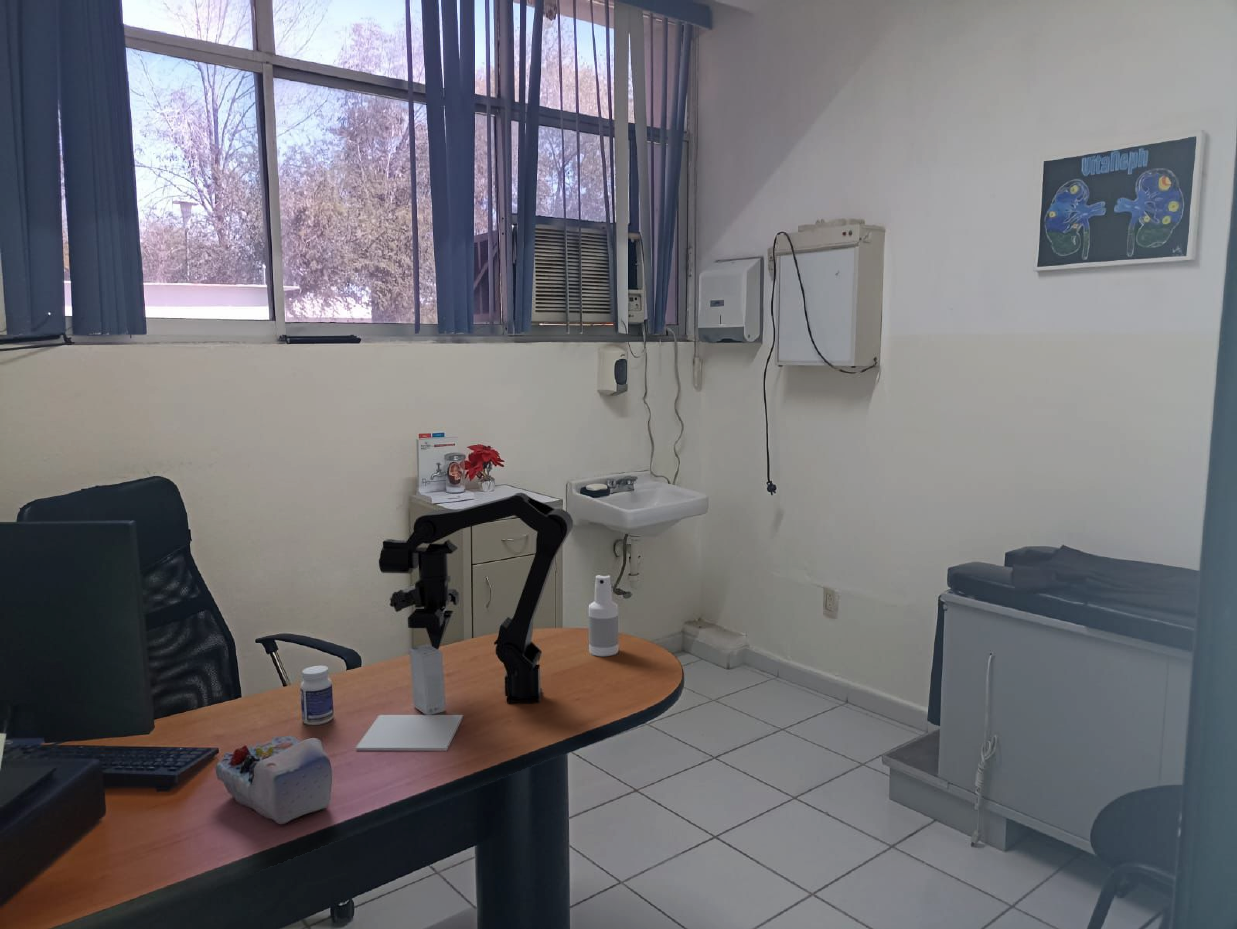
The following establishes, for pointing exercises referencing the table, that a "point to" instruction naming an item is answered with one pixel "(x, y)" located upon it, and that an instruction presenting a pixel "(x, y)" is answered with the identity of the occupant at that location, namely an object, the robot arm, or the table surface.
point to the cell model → (279, 777)
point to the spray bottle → (603, 620)
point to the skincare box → (427, 679)
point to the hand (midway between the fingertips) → (436, 649)
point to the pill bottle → (316, 696)
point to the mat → (411, 733)
